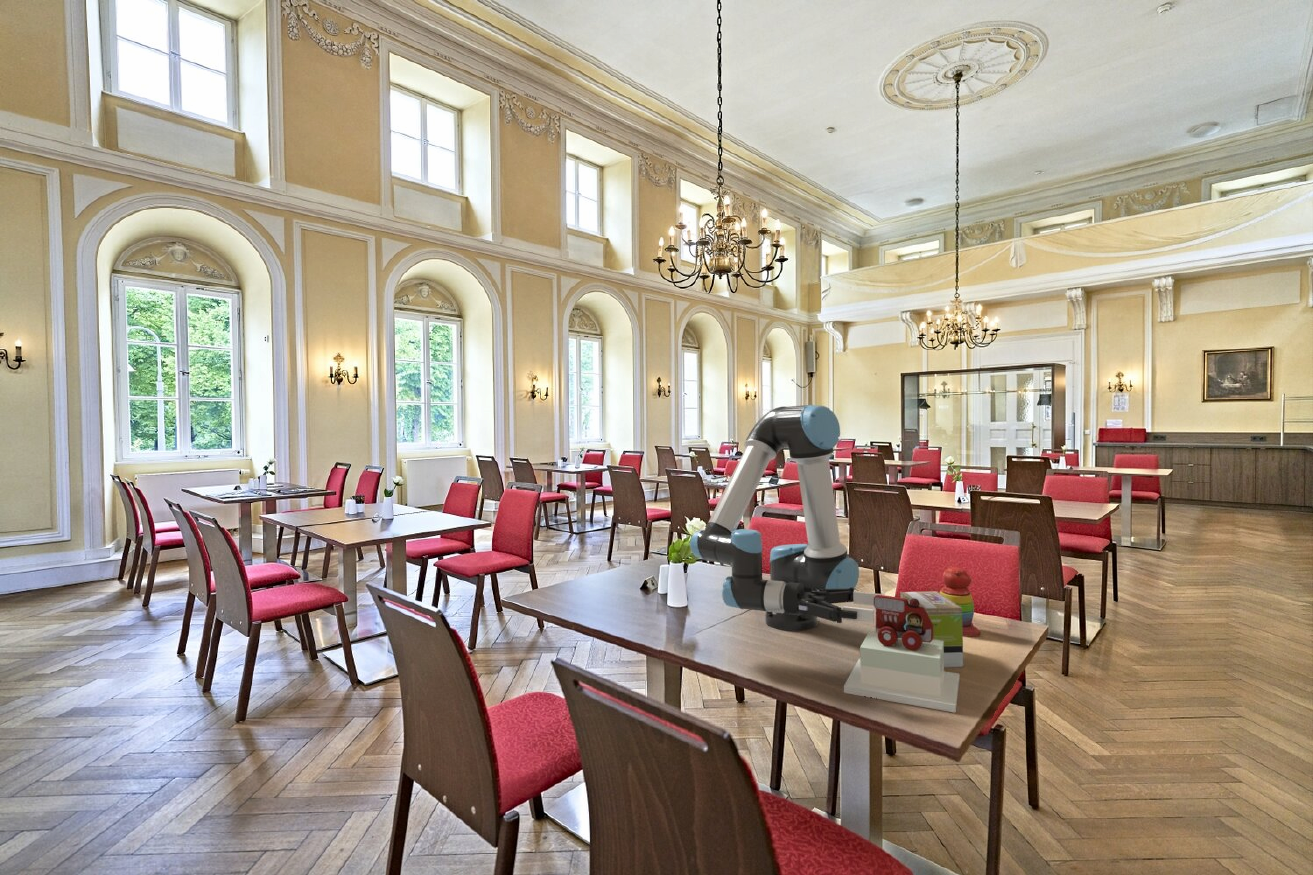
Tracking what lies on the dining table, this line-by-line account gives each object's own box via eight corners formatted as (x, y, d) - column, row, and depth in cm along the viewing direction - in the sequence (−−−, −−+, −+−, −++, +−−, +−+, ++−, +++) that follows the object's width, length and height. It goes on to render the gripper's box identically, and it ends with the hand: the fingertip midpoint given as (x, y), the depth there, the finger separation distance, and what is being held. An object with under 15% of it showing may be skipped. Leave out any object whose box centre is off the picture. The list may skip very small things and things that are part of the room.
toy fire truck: (930, 653, 132) (929, 605, 132) (870, 643, 139) (869, 597, 139) (935, 644, 138) (935, 597, 138) (877, 634, 145) (877, 590, 145)
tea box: (899, 646, 164) (898, 590, 164) (938, 646, 164) (937, 590, 163) (922, 668, 149) (921, 606, 149) (964, 668, 149) (964, 606, 148)
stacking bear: (982, 637, 170) (981, 572, 169) (942, 635, 172) (942, 571, 171) (971, 624, 180) (970, 563, 180) (933, 623, 182) (932, 562, 182)
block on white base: (844, 692, 136) (843, 649, 136) (859, 664, 152) (858, 625, 152) (955, 712, 126) (955, 665, 125) (959, 680, 141) (958, 638, 141)
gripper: (799, 600, 162) (885, 609, 152) (770, 628, 139) (869, 641, 130) (798, 571, 161) (885, 579, 152) (770, 594, 139) (869, 605, 130)
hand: (878, 607), depth 141 cm, fingers open, 13 cm apart
